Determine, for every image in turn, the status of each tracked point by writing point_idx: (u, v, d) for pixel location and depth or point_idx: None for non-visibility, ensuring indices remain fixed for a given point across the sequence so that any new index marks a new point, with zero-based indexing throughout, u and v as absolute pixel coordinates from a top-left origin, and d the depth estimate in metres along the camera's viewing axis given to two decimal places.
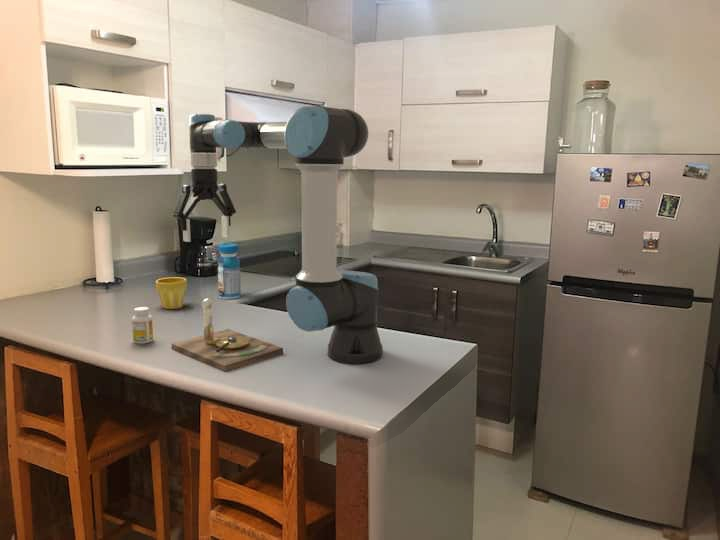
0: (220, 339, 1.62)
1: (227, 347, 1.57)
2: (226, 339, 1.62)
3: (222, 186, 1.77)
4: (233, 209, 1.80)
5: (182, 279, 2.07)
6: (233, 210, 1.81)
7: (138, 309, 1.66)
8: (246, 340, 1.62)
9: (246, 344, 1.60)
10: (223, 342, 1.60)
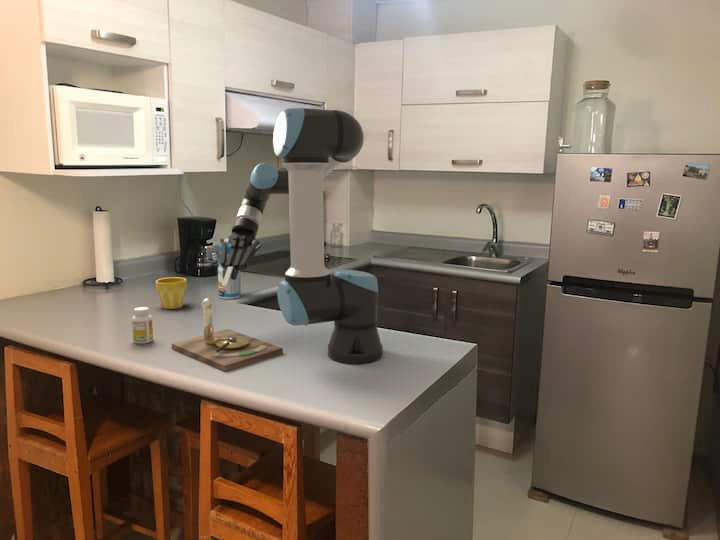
0: (220, 339, 1.62)
1: (227, 347, 1.57)
2: (226, 339, 1.62)
3: None
4: (243, 261, 1.72)
5: (182, 279, 2.07)
6: (242, 262, 1.71)
7: (138, 309, 1.66)
8: (246, 340, 1.62)
9: (246, 344, 1.60)
10: (223, 342, 1.60)
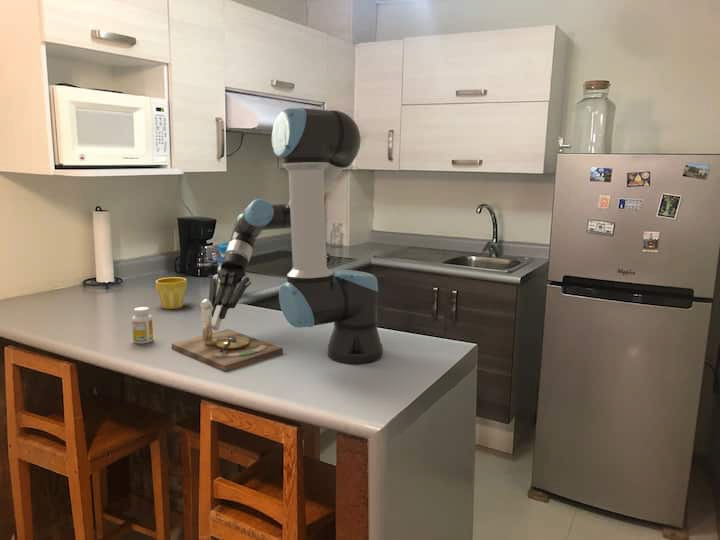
0: (219, 339, 1.62)
1: (229, 347, 1.57)
2: (225, 339, 1.62)
3: None
4: (232, 299, 1.66)
5: (182, 279, 2.07)
6: (231, 301, 1.66)
7: (138, 309, 1.66)
8: (246, 339, 1.62)
9: (247, 343, 1.60)
10: (224, 342, 1.59)
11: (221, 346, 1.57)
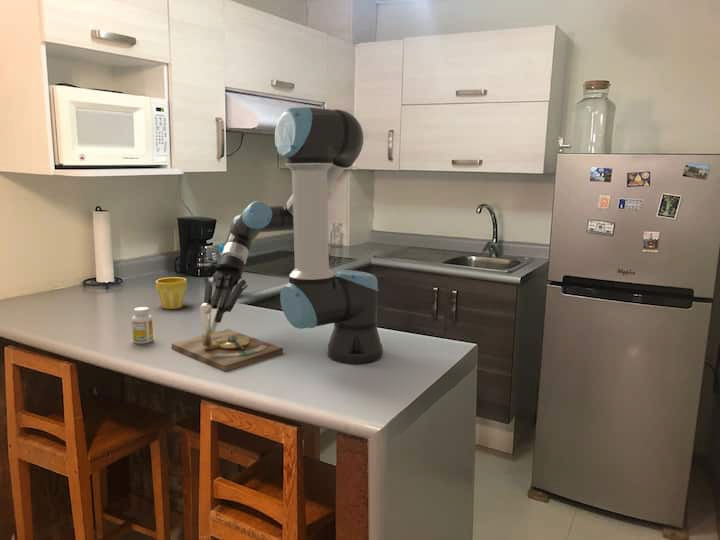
0: (219, 342, 1.60)
1: None
2: (224, 341, 1.61)
3: None
4: (228, 302, 1.63)
5: (182, 279, 2.07)
6: (227, 304, 1.63)
7: (138, 309, 1.66)
8: (243, 337, 1.64)
9: None
10: (228, 343, 1.59)
11: (230, 347, 1.57)
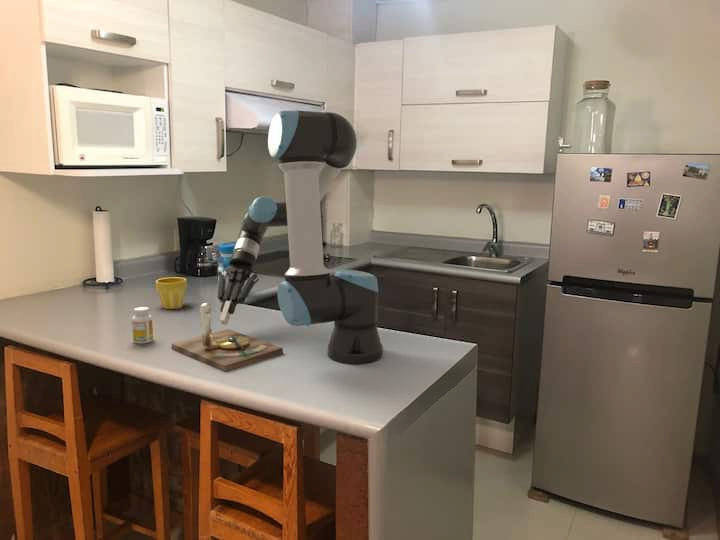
0: (219, 342, 1.60)
1: None
2: (224, 341, 1.61)
3: None
4: (240, 295, 1.71)
5: (182, 279, 2.07)
6: (239, 296, 1.71)
7: (138, 309, 1.66)
8: (243, 337, 1.64)
9: None
10: (228, 343, 1.59)
11: (230, 347, 1.57)
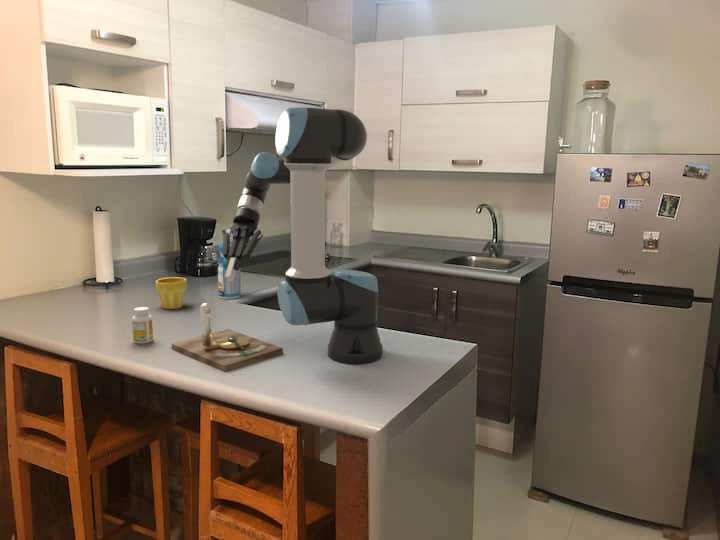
0: (219, 342, 1.60)
1: None
2: (224, 341, 1.61)
3: None
4: (245, 251, 1.71)
5: (182, 279, 2.07)
6: (244, 252, 1.71)
7: (138, 309, 1.66)
8: (243, 337, 1.64)
9: None
10: (228, 343, 1.59)
11: (230, 347, 1.57)
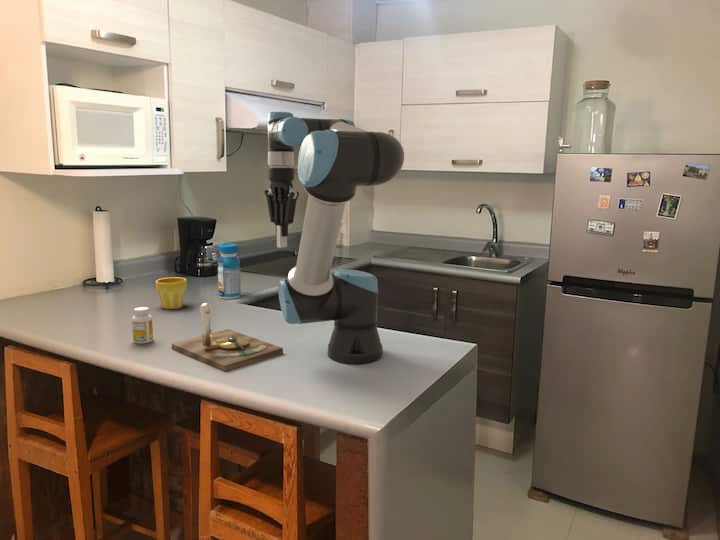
0: (219, 342, 1.60)
1: None
2: (224, 341, 1.61)
3: None
4: (286, 219, 1.69)
5: (182, 279, 2.07)
6: (285, 220, 1.69)
7: (138, 309, 1.66)
8: (243, 337, 1.64)
9: None
10: (228, 343, 1.59)
11: (230, 347, 1.57)
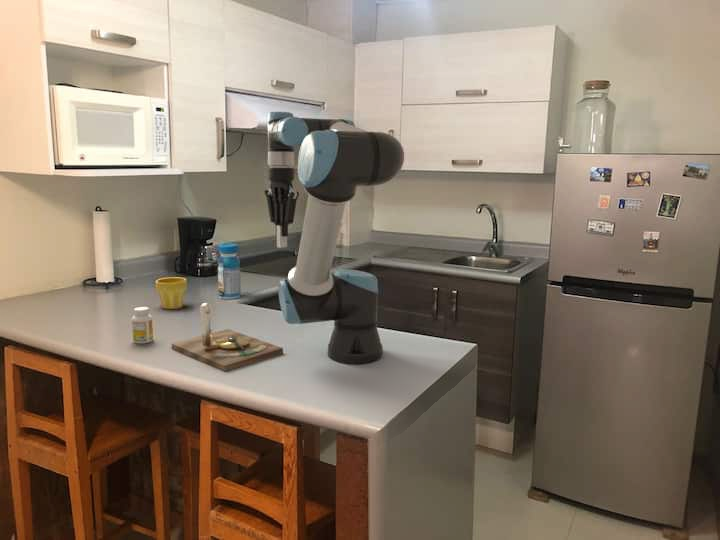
0: (219, 342, 1.60)
1: None
2: (224, 341, 1.61)
3: None
4: (286, 219, 1.69)
5: (182, 279, 2.07)
6: (285, 220, 1.69)
7: (138, 309, 1.66)
8: (243, 337, 1.64)
9: None
10: (228, 343, 1.59)
11: (230, 347, 1.57)
